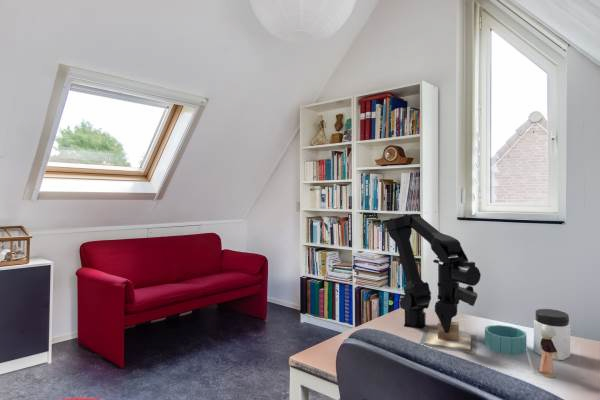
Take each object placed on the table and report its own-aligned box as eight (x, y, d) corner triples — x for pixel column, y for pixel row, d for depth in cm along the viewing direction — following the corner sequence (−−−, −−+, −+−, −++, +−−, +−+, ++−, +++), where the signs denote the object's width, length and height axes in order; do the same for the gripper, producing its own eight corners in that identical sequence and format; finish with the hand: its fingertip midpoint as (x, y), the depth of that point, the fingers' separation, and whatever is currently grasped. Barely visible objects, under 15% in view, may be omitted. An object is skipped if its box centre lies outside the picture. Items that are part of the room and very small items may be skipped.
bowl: (485, 352, 118) (485, 335, 118) (484, 338, 128) (484, 323, 128) (527, 357, 113) (527, 340, 113) (524, 343, 123) (524, 327, 123)
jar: (559, 363, 110) (559, 319, 110) (529, 353, 117) (529, 312, 116) (574, 355, 115) (574, 313, 114) (544, 346, 122) (544, 306, 121)
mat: (418, 347, 122) (418, 345, 122) (425, 330, 137) (425, 328, 137) (475, 355, 116) (475, 353, 116) (476, 336, 130) (476, 335, 130)
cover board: (424, 344, 123) (424, 326, 123) (429, 330, 135) (429, 314, 135) (470, 351, 118) (470, 332, 118) (471, 336, 130) (471, 318, 129)
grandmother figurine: (530, 368, 107) (530, 321, 107) (544, 367, 107) (544, 320, 107) (551, 382, 99) (551, 331, 99) (565, 381, 100) (565, 330, 99)
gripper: (475, 288, 114) (475, 342, 115) (476, 274, 131) (476, 322, 132) (434, 284, 119) (434, 336, 119) (440, 272, 136) (440, 317, 136)
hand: (448, 328), depth 126 cm, fingers open, 9 cm apart
